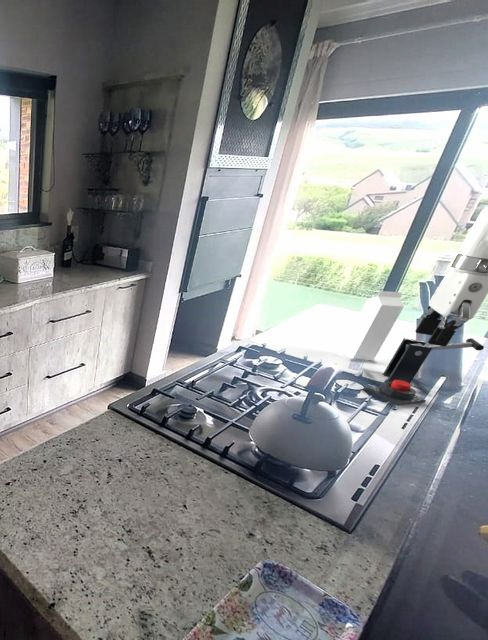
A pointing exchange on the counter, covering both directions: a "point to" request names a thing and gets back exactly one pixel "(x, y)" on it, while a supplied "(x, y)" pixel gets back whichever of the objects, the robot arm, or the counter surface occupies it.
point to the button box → (396, 394)
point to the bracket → (407, 360)
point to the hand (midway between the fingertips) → (430, 338)
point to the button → (401, 385)
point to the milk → (373, 325)
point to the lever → (457, 345)
